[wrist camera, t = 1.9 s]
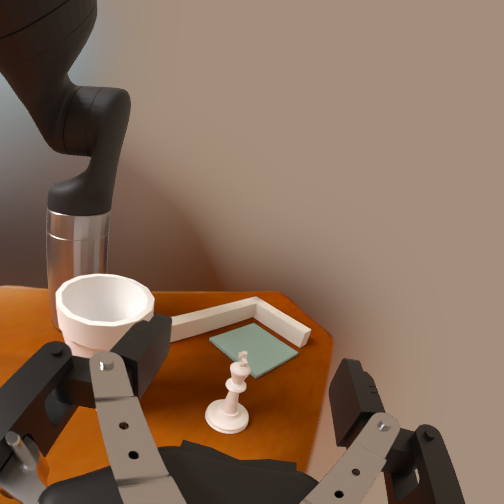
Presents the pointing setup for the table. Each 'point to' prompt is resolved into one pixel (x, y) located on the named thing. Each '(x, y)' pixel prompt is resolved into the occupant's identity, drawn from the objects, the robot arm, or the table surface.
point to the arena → (246, 332)
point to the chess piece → (231, 401)
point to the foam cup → (100, 311)
